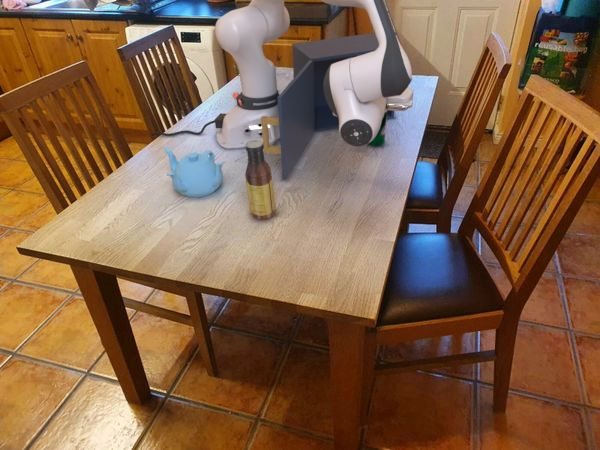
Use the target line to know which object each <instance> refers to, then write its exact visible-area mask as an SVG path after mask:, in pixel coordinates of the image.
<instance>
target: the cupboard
mask: <svg viewBox="0 0 600 450" xmlns="http://www.w3.org/2000/svg"><path fill="white" fill-rule="evenodd" d="M291 46H292V47H291V48H292V68H293V69H292V71H293V79H294V78H295V77H296V75H297V74H298V73H299V72H300V71H301V70H302V69H303V67H304V66H305V65H306V64H307V63H308V62H309V61H310V60H313V94H314V133H319V132H324V131H330V130H334V129H339V117H337V116H334V115H333V112H332V111H331V109H330V107H329V106H328V103H327V101H326V98H325V94H324V88H323V84H324V78H325V75H326V72H327V70H328V68H329V66H330V65H331V64H334V63H336V62H339V61H342V60H346V59H349V58H354V57H357V56H360V55H363V54H366V53H370V52H373V51H375V50H376V49H377V48H378V46H379V43H378V40H377V37H376V34H375V32H371V33H363V34H357V35H348V36H341V37H332V38H325V39H318V40H310V41H302V42H296V43H292V44H291ZM392 119H395V111H389V110H387V120H392Z"/></svg>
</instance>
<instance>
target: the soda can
mask: <svg viewBox="0 0 600 450" xmlns="http://www.w3.org/2000/svg"><path fill="white" fill-rule="evenodd" d="M387 120H388V119H387V110H385V113H384V116H383V119H382V123H381V126H380V129H379V131H378V133H377V135H376V137H375V138H374V139H373V140H372V141H371V142H370V143H368V144H369V145H370V146H371V147H375V148H376V147H378V148H379V147H382V146H383V145H384V144H385V142H386V134H387V133H386V131H387V122H388V121H387Z"/></svg>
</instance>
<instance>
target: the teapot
mask: <svg viewBox="0 0 600 450" xmlns="http://www.w3.org/2000/svg"><path fill="white" fill-rule="evenodd" d="M163 150H164V151H165V153H166V154H167V156H168V159H169V161H168V162H169V167H170V171H171V172H168V173H167V174H166V176H169V177H170V178H171V181H172V187H173V188H174V190H176V192H177V193H179V194H181V195H182V196H184V197H187V198H203V197H207V196H210V195H211V194H213V193H215V192H216V191H217V190H218V189H219V187H220V186H221V184H222V182H223V179H224V173H223V169H222V168H223V167H222V166H223V165H224V164H226V161H220V162H219V161H218V163H215V153H214V152H213V151H211V150H204V152H203V153H201V152H200V153H199V152H190V153H188V154H186V155H184V156H182V157H181V158H180V159H179V160H178V159H177V158H176V155H175V153H174V152H173V151H172V150H171V149H170V148H169V147H164V148H163Z"/></svg>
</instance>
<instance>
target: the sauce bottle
mask: <svg viewBox="0 0 600 450" xmlns="http://www.w3.org/2000/svg"><path fill="white" fill-rule="evenodd" d="M245 151H246V154H247V166H246V169H245V173H244V177H245V184H246V191H247V196H248V202H249V209H250V213H251V215H252V216H253V218H255V219H257V220H261V221H262V220H263V221H264V220H269V219H270V218H272V217H274V216H275V214H276V200H275V190H274V183H273V176H272V169H271V167H270V165H269V163H268V162H267V161H266V157H265V152H264V145H263V142H262V141H261V140H257V139H256V140H250V141H248V142H247V143H246V147H245Z"/></svg>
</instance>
